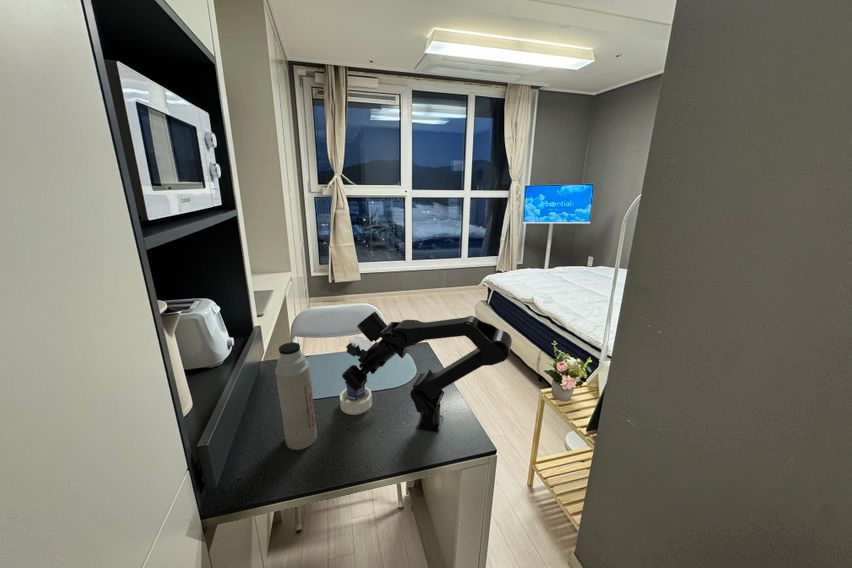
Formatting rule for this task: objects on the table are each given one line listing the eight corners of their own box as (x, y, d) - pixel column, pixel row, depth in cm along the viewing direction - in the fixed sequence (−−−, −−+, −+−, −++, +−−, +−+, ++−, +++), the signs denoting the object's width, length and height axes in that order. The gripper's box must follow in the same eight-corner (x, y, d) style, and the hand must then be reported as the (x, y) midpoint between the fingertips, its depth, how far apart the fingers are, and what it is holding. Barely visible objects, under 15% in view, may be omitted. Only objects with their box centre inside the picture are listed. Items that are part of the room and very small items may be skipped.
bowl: (364, 417, 102) (363, 407, 101) (334, 411, 104) (333, 401, 103) (376, 397, 111) (376, 388, 110) (349, 392, 113) (348, 383, 112)
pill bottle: (359, 405, 103) (356, 377, 100) (344, 400, 105) (341, 372, 102) (368, 394, 108) (367, 367, 105) (354, 390, 110) (352, 363, 107)
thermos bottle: (322, 430, 97) (312, 340, 88) (307, 452, 90) (295, 356, 81) (296, 426, 98) (284, 337, 90) (279, 447, 91) (264, 352, 82)
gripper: (378, 318, 107) (349, 344, 114) (345, 345, 90) (314, 374, 97) (402, 345, 107) (372, 369, 114) (374, 377, 90) (341, 404, 97)
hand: (351, 378), depth 105 cm, fingers closed on pill bottle, 5 cm apart
